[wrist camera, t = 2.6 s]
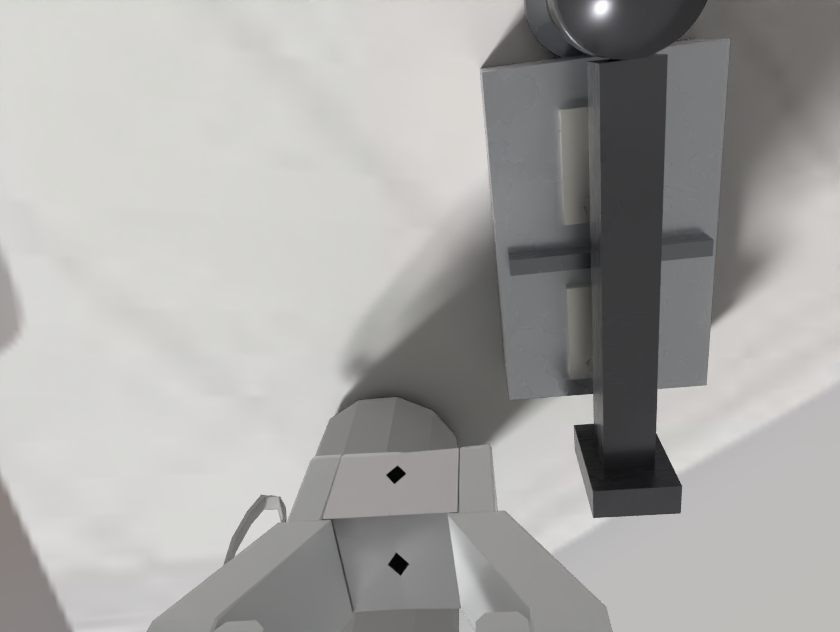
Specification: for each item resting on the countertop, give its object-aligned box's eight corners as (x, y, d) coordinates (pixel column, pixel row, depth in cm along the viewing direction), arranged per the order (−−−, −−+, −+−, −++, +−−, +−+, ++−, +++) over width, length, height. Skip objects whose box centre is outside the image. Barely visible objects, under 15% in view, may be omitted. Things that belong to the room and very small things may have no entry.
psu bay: (479, 68, 23) (482, 73, 20) (697, 38, 22) (740, 38, 19) (505, 365, 28) (510, 410, 25) (682, 351, 27) (713, 395, 24)
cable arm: (538, -82, 18) (558, -114, 14) (681, -106, 17) (739, -145, 14) (562, 450, 25) (579, 518, 22) (661, 443, 25) (695, 512, 21)
